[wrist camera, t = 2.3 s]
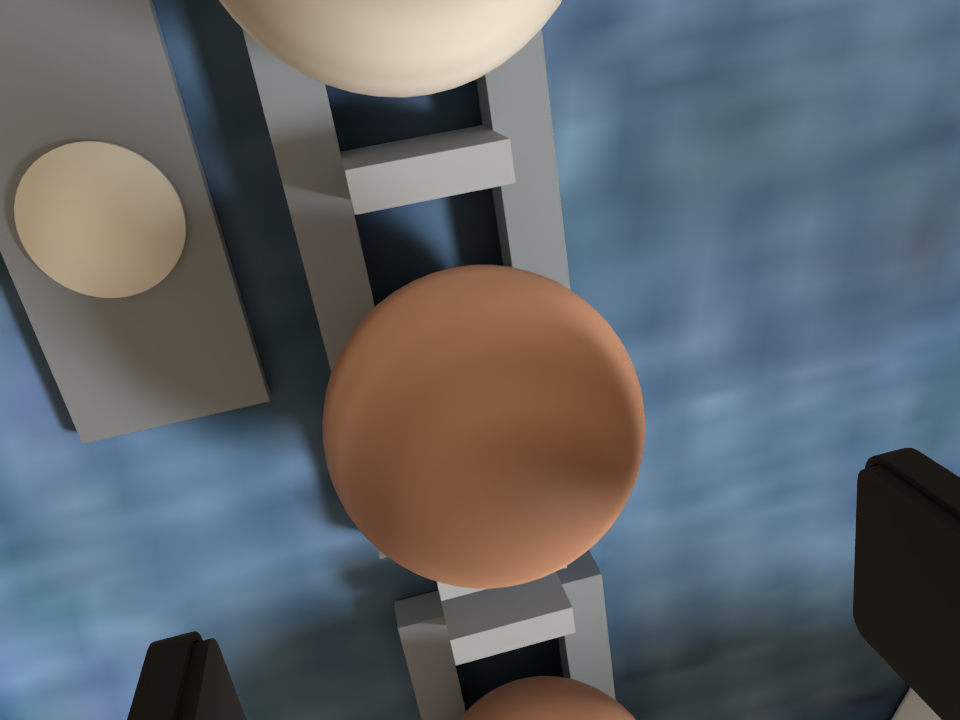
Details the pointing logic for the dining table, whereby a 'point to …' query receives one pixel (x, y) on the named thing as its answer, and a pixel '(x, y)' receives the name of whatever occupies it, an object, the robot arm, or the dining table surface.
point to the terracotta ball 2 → (546, 702)
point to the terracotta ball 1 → (483, 426)
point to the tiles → (115, 222)
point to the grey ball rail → (348, 299)
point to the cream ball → (392, 39)
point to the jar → (914, 709)
